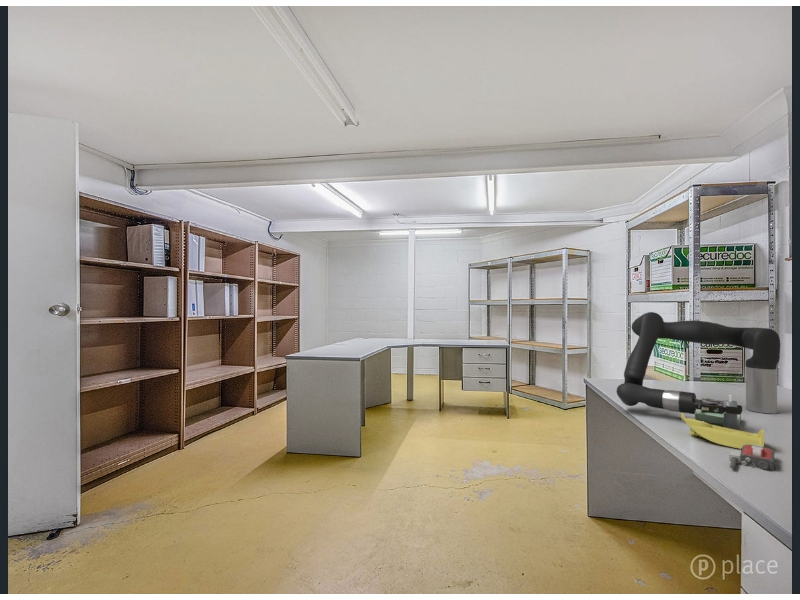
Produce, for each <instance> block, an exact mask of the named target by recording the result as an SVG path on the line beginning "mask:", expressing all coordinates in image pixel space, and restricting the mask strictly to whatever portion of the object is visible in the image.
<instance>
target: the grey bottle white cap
mask: <svg viewBox="0 0 800 600" xmlns="http://www.w3.org/2000/svg"><path fill="white" fill-rule="evenodd" d="M723 401H724V405H725V406H726V407H727V406H731V407H737V405H738V401H737V400H733V395H732V394H728V399H724V400H723ZM723 427H725V428H729V429H734V430H738V429H739V428H738V416H737V414H731V413H727V412H726V413H724V425H723Z"/></svg>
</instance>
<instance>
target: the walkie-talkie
mask: <svg viewBox="0 0 800 600" xmlns="http://www.w3.org/2000/svg"><path fill="white" fill-rule="evenodd" d="M730 452H731V453H729V458H728V459H729V462H730V465H729V467H730V469H733V470H734V469H736V465H737V464H739V463H740V465H743V466H749V467H753V468H757V469H761V470H767V471H770V470H771V471H770V472H774V471H775V468H776V460H775V451H774V450H773V449H771V448H769V447H765V446H764V447H763V446H759V445H749V444H747V445H743V447H742V448H741V449H738V450H737V449H736V450H731V451H730Z"/></svg>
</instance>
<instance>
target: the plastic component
mask: <svg viewBox="0 0 800 600" xmlns="http://www.w3.org/2000/svg"><path fill="white" fill-rule="evenodd" d="M679 413H680V418H681V420H682V422H683V423H685V424H687V426H688V427H689V428H690V431H689V436H692V437H695V436H699V437H698V438H701V437H702V438H703V439H705V440H707V441H710V442H712V443H714V444H717V445H721V446H725V447H728V448H732V449H733V448H734V449H737V448H738V450H741V448H742V447H743V445H747V444H749V445H759V446H763V447H765V429H762V428H761V429H760V430H759V432H758V433H754V432H753V433H752V432H748V431H743V430H738V429H737V430H734V429H729V428H725V427H724V426H720V425H716V424H711V423H707V422H703V421H698V420H696V419H695V418H688V417H686V416H685V413H682V412H679Z"/></svg>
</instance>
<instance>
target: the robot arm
mask: <svg viewBox="0 0 800 600" xmlns="http://www.w3.org/2000/svg"><path fill="white" fill-rule="evenodd" d="M631 329H632V332H633V333H634V334H635V335H637V336H638V339H637V341H636V344H635V346H634V347H633V349H632V352H630V355H629V357H628V360H627V362H626V365H625V368H624V372H623V377H624V378H623V379H624V382H623V383H621V384H619V385H618V386H617V387H616V395H617V396H618V398H619V400H620V401H621V402H622V403H623V404H625V406H629V407H633V406H636V405H638V404H639V403H642V404H644V405H646V406H648V407H650V408H655V409H660V410H661V409H663V410H667V411H670V412H677V413H683V414H688V415H689V414H691V415H695V413H696V412H697V410H698V409H699V410H701V412H703V413H705V412H706V413H717V414H723V413H726V412H727V413H731V414H738V415H740V414H741V415H742V412H743V405H740V404H737V407H731V406H727V407H726V406H725V405H724V400H719V399H718V400H717V399H712V398H705V397H704V398H702V399H697V395H696V393H695V392H689V391H683V390H682V391H681V390H674V389H672V390H671V389H660V388H659V389H658V388H650V387H648V386H643V384H644V379H645V376H646V373H647V369H648V365H649V361H650V359H651V356H652V353H653V349H654V347H655V345H656V343H657V341H658V339H664V340H665V339H667V340H674V341H680V342H687V343H695V344H703V345H729V346H735V347H736V346H737V347H740V348H745V349H748V350H752V355H751V357H750V358H748V359H746V360H745V409H746V410H748V411H751V412H756V413H761V414H772V415H773V414H777V413H778V376H777V375H778V370H777V368H778V364H779V361H780V356H781V339H780V338H781V337H780V335H779V334H778V332H777V330H774V329H772V328H768V327H734V326H726V325H723V324H720V323H716V322H713V321H712V322H711V321H703V320H680V321H671V322H670V321H668V322H667V321H664V318H663V317H662V316H661V315H660V314H659V313H657V312H654V311H648V312H645V313H643V314H641V315H640V316H638V317H636V319H635V320H633V321H632V324H631Z"/></svg>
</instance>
